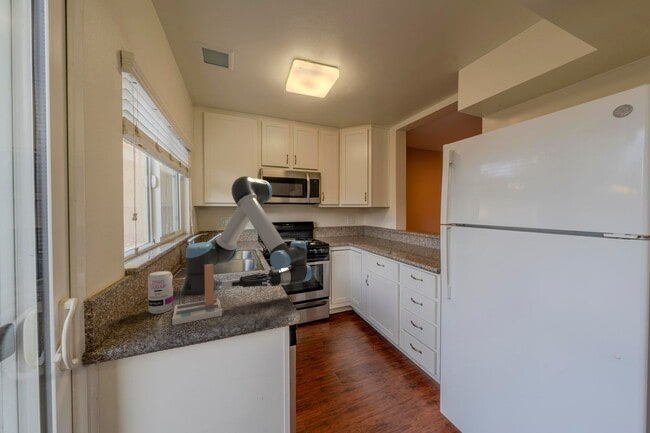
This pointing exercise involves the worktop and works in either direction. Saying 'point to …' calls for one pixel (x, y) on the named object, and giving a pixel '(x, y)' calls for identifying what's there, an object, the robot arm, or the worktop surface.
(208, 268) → the orange rectangular block
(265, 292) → the worktop surface
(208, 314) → the switch base
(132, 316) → the worktop surface
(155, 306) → the supplement can
